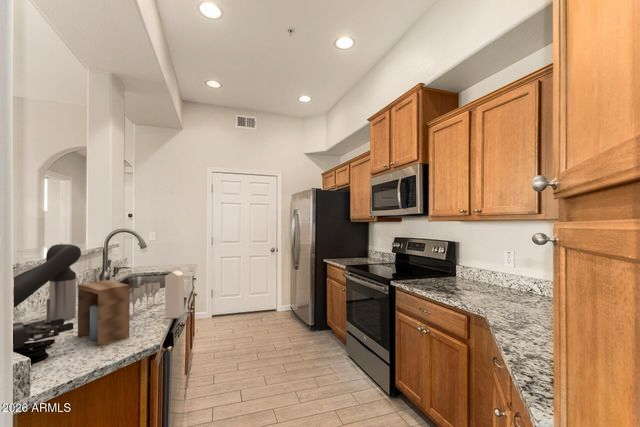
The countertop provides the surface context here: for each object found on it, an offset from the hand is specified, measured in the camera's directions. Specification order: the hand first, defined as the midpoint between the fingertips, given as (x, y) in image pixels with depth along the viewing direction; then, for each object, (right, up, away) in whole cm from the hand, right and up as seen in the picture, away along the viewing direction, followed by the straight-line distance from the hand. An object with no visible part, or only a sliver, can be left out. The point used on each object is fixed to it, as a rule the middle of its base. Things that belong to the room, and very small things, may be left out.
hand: (68, 323), depth 105 cm
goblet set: (+2, -9, +40) cm, 41 cm away
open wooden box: (+6, -8, +9) cm, 14 cm away
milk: (+21, -9, +33) cm, 40 cm away
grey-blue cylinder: (+5, -8, +8) cm, 13 cm away
